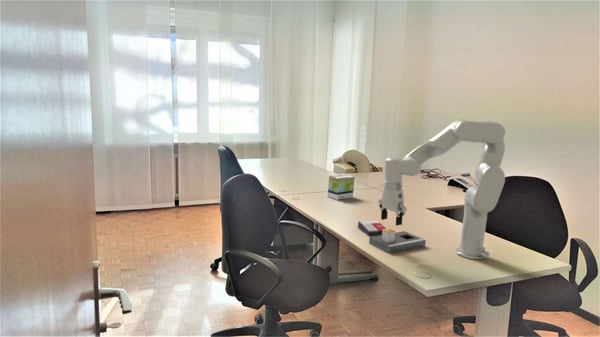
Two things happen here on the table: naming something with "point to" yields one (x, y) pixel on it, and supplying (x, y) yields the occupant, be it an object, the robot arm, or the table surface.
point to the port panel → (398, 242)
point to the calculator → (371, 227)
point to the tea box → (341, 186)
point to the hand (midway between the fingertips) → (391, 222)
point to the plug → (388, 235)
